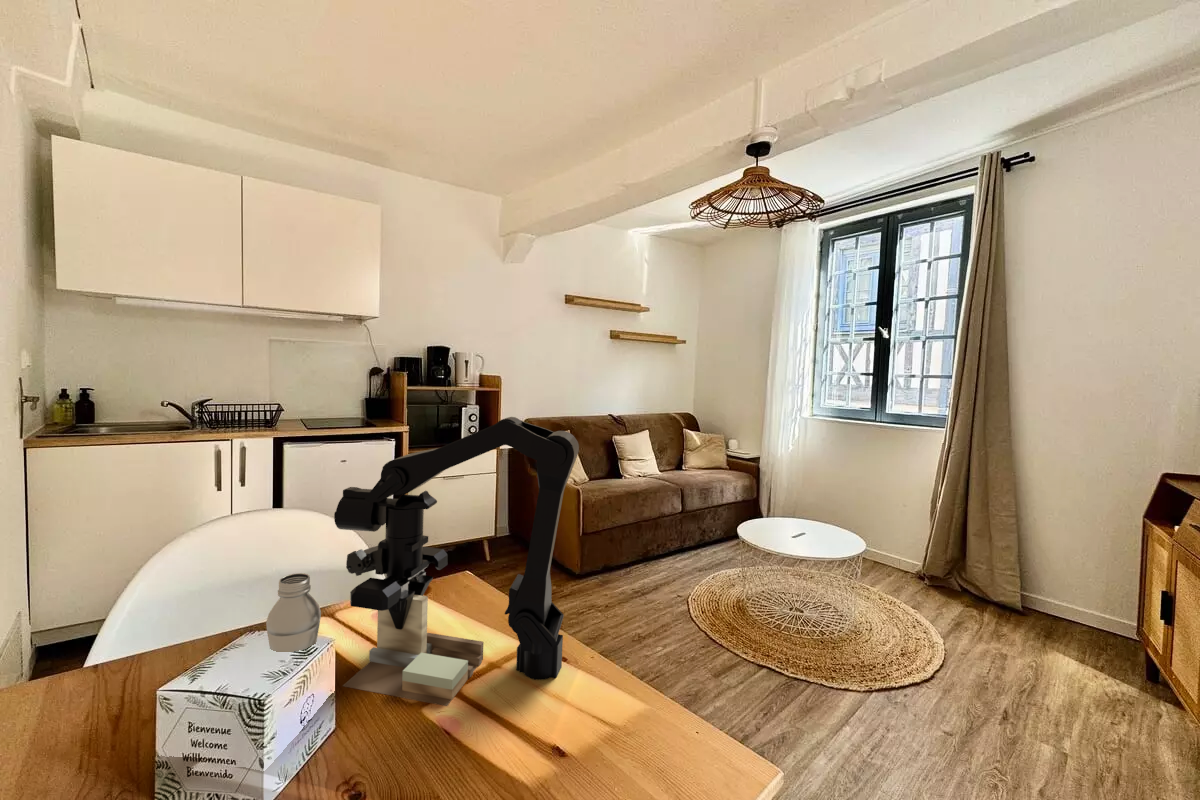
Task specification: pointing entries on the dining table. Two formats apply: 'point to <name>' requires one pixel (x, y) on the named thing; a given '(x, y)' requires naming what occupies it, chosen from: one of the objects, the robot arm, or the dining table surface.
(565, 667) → the dining table surface
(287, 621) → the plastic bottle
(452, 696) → the oak offcut
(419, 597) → the birch sheet
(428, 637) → the walnut rack
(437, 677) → the sage offcut
